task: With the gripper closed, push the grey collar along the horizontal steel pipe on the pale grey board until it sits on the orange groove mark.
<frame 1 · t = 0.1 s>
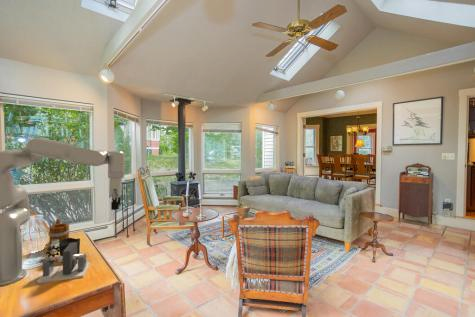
hand: (116, 207, 123), 31 cm above the table, tool pointing down, fingers open, 9 cm apart
pipe: (65, 263, 115), on the base board, point 5 cm above the table
base board: (65, 273, 115), on the table
valve: (54, 253, 135), on the table
pen holder: (69, 258, 130), on the table
collar: (70, 257, 115), point 8 cm above the table, slide at 5.5 cm
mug: (59, 245, 147), on the table
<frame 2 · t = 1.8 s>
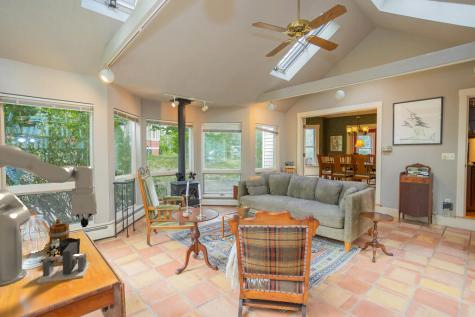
hand: (84, 226, 118), 22 cm above the table, tool pointing down, fingers closed
nothing on the table moved.
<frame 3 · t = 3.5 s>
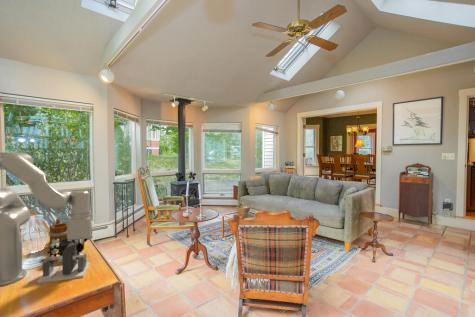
hand: (80, 251, 118), 10 cm above the table, tool pointing down, fingers closed
collar: (70, 257, 115), point 8 cm above the table, slide at 5.4 cm, touching gripper
everything else where it was.
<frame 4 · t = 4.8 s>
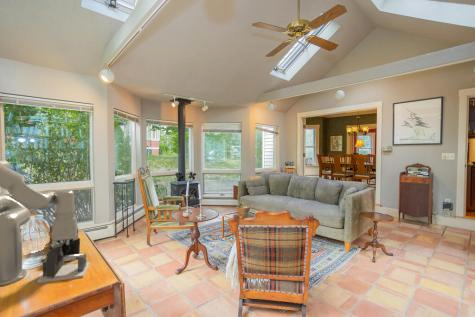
hand: (65, 252, 116), 10 cm above the table, tool pointing down, fingers closed
valve: (55, 253, 136), on the table, touching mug
collar: (55, 259, 113), point 7 cm above the table, slide at -0.6 cm, touching gripper
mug: (59, 244, 147), on the table, touching valve
everything else where it was.
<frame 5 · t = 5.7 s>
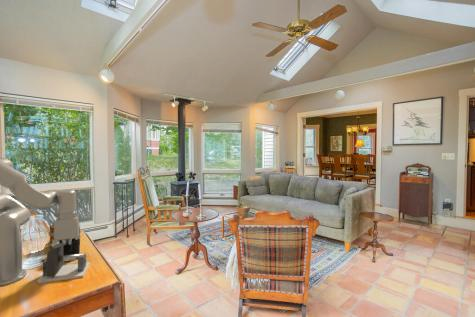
hand: (68, 251, 116), 10 cm above the table, tool pointing down, fingers closed
valve: (56, 253, 136), on the table
collar: (55, 259, 113), point 8 cm above the table, slide at -0.5 cm
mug: (59, 244, 147), on the table
everything else where it was.
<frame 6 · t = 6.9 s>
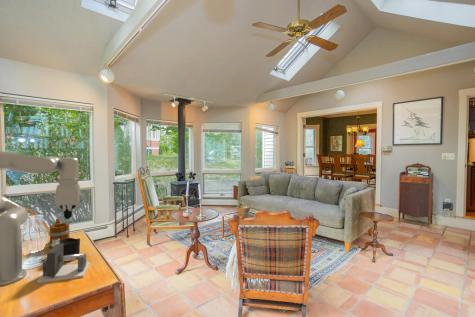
hand: (67, 218, 118), 26 cm above the table, tool pointing down, fingers closed
nothing on the table moved.
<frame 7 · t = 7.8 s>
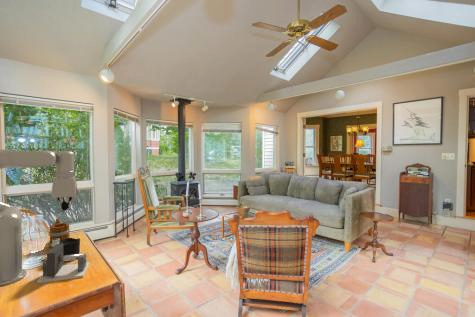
hand: (65, 209, 122), 29 cm above the table, tool pointing down, fingers closed
valve: (56, 252, 137), on the table, touching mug
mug: (59, 244, 148), on the table, touching valve
everything else where it was.
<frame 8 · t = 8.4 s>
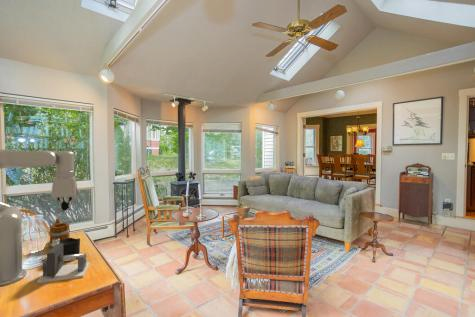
hand: (65, 209, 122), 29 cm above the table, tool pointing down, fingers closed
valve: (56, 252, 137), on the table
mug: (59, 244, 148), on the table
everything else where it was.
at the end: collar slide at -0.5 cm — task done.
